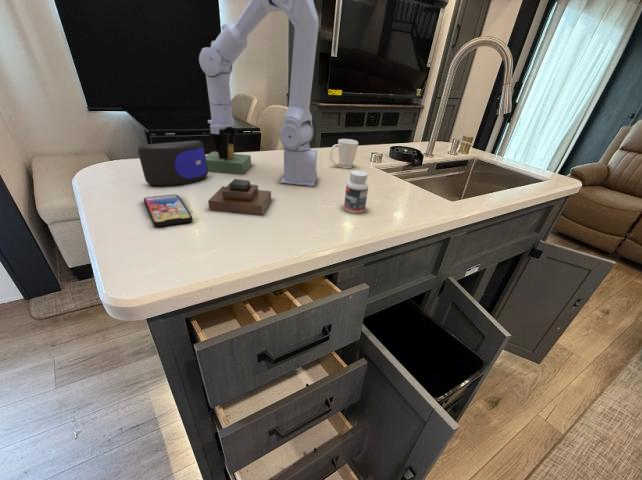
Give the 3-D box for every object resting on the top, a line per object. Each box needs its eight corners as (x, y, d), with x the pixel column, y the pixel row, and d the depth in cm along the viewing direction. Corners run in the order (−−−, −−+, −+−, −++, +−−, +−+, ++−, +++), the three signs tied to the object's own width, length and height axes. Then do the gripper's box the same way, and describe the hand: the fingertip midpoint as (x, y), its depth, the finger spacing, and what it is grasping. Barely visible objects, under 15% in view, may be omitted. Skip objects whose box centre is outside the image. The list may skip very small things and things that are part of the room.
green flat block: (251, 165, 103) (250, 154, 101) (242, 174, 95) (241, 163, 93) (213, 161, 103) (212, 150, 101) (202, 170, 95) (200, 158, 93)
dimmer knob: (221, 154, 98) (220, 141, 96) (236, 156, 99) (234, 142, 96) (216, 158, 95) (215, 144, 93) (231, 159, 95) (230, 145, 93)
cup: (359, 168, 110) (362, 143, 105) (334, 170, 106) (336, 144, 101) (349, 163, 115) (351, 138, 110) (324, 164, 111) (326, 138, 106)
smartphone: (177, 194, 76) (193, 217, 66) (178, 197, 76) (193, 221, 67) (142, 197, 72) (153, 223, 63) (143, 201, 73) (154, 227, 63)
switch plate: (271, 199, 81) (270, 183, 78) (262, 215, 73) (261, 198, 70) (223, 195, 80) (221, 178, 78) (209, 210, 72) (206, 192, 70)
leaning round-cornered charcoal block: (152, 190, 79) (141, 148, 73) (145, 184, 81) (134, 144, 76) (214, 180, 89) (209, 142, 83) (206, 175, 91) (201, 139, 85)
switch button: (250, 187, 76) (249, 180, 75) (246, 193, 73) (245, 185, 72) (235, 186, 76) (234, 178, 75) (230, 191, 73) (229, 183, 72)
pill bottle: (339, 208, 80) (343, 171, 75) (353, 203, 83) (358, 168, 78) (355, 215, 77) (359, 177, 72) (369, 210, 80) (374, 174, 75)
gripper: (215, 99, 94) (221, 149, 102) (195, 105, 83) (204, 160, 91) (239, 102, 94) (243, 151, 102) (223, 108, 83) (228, 163, 91)
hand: (226, 156), depth 97 cm, fingers closed on dimmer knob, 4 cm apart
